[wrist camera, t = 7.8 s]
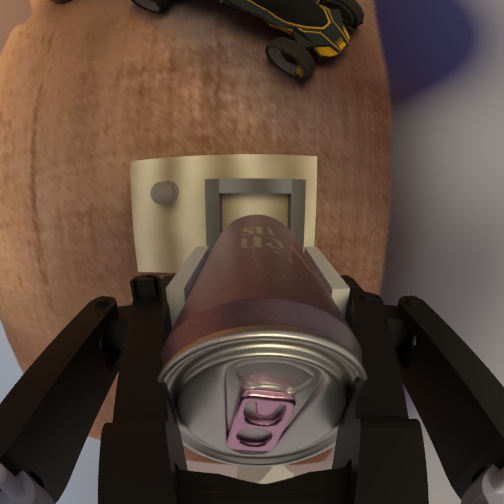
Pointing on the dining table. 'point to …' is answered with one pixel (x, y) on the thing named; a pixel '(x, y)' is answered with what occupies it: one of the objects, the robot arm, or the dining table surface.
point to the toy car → (296, 29)
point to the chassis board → (215, 201)
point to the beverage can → (259, 352)
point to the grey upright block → (264, 473)
